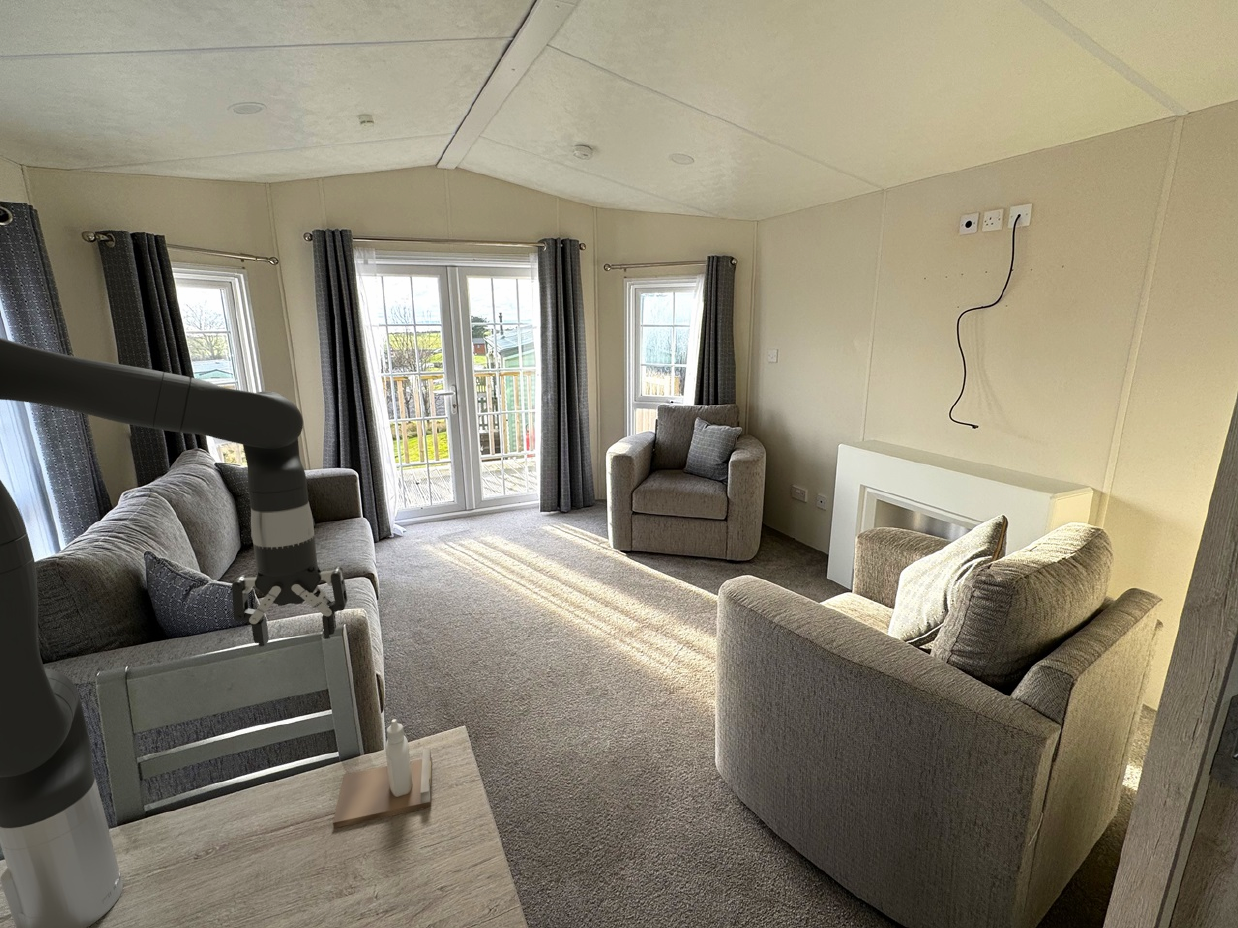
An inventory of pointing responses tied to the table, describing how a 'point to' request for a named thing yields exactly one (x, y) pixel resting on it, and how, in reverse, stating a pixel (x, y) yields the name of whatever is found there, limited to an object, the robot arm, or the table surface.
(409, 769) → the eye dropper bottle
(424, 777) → the walnut shelf board
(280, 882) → the table surface
